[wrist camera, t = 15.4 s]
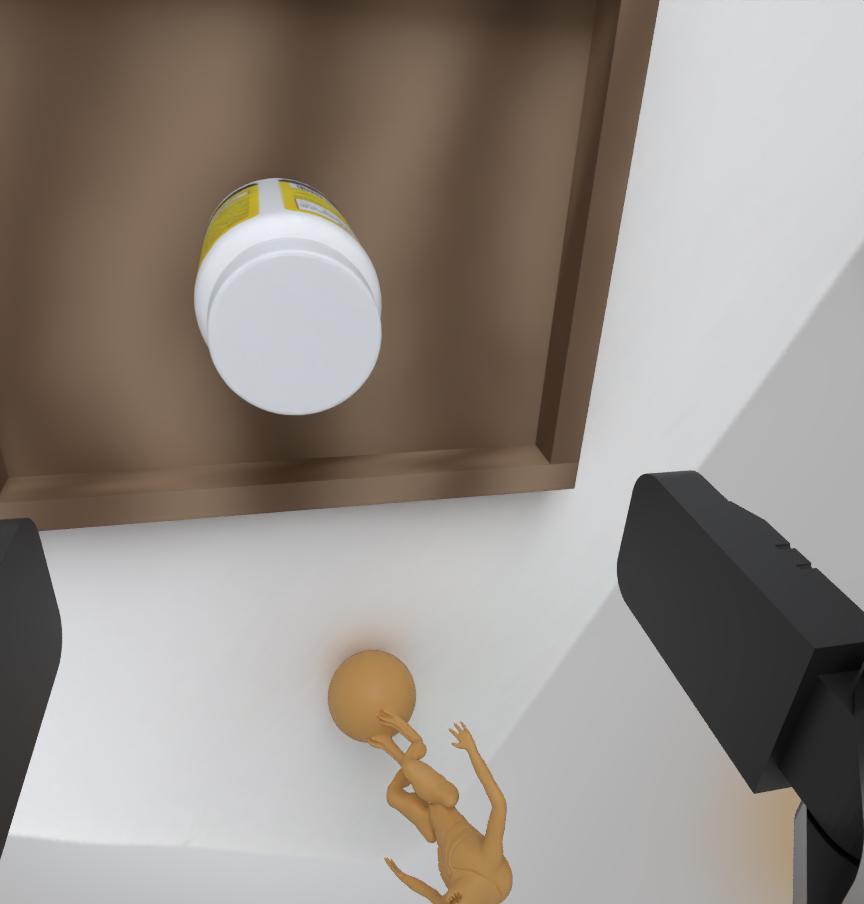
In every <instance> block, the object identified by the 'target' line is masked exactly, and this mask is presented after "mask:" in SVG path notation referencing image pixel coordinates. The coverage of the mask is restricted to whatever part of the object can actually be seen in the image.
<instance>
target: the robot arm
mask: <svg viewBox="0 0 864 904" xmlns="http://www.w3.org/2000/svg"><path fill="white" fill-rule="evenodd" d="M617 577H618V584H619V588H620V591H621V594H622V596H623V598H624V601H625V602H626V604H627V606H628V607H629V609H630V610H631V612H632V613H633V614H634V616H635V618H636V619H637V620H638V622H639V623H640V625H641V626H642V628H643V629H644V631H645V632H646V634H647V635H648V637H649V638H650V640H651V641H652V643H653V644H654V646H655V647H656V649H657V650H658V652H659V653H660V655H661V656H662V658H663V659H664V661H665V662H666V664H667V665H668V667H669V668H670V670H671V671H672V672H673V674H674V675H675V677H676V679H677V680H678V682H679V683H680V685H681V686H682V687H683V689H684V690H685V692H686V693H687V695H688V696H689V698H690V699H691V701H692V702H693V704H694V705H695V707H696V708H697V710H698V711H699V713H700V714H701V716H702V717H703V718H704V720H705V722H706V723H707V725H708V726H709V728H710V729H711V731H712V732H713V734H714V735H715V737H716V738H717V739H718V741H719V743H720V744H721V746H722V747H723V749H724V750H725V751H726V753H727V754H728V756H729V757H730V759H731V760H732V762H733V763H734V765H735V766H736V768H737V769H738V771H739V772H740V774H741V775H742V777H743V778H744V779H745V781H746V783H747V784H748V786H749V787H750V789H751V790H752V792H753V793H754V794H755V793H761V792H766V791H772V790H777V789H783V788H788V787H793V789H794V790H795V792H796V793H797V794H798V796H799V797H800V798H801V802H800V805H799V807H798V809H797V811H796V814H795V818H794V855H793V856H794V857H793V904H864V612H863V611H862V610H861V609H860V608H859V607H858V606H857V605H856V604H855V603H854V602H852V600H850V599H849V598H848V597H847V596H846V595H845V594H844V593H843V592H842V591H841V590H840V589H839V588H838V587H836V586H835V585H834V584H833V583H832V582H831V581H830V580H829V579H828V578H827V577H826V576H825V575H824V574H822V573H821V572H820V571H819V570H818V569H817V568H813V569H812V567H811V562H809V561H808V560H807V559H806V558H805V557H804V556H803V555H802V554H801V553H800V552H799V551H797V550H796V549H795V548H793V549H791V548H790V543H789V542H788V541H787V540H786V539H785V538H784V537H782V536H781V535H780V534H779V533H778V532H777V531H776V530H775V529H774V528H773V527H772V526H771V525H770V524H768V523H767V522H766V521H765V520H763V519H762V518H760V517H758V516H756V515H755V514H753V513H751V512H749V511H747V510H745V509H744V508H742V507H740V506H738V505H737V504H735V503H733V502H731V501H728V500H727V499H726V498H724V496H723V495H721V494H720V493H719V492H718V491H717V490H716V489H715V488H714V487H713V486H712V485H711V484H710V483H709V482H708V481H707V480H706V479H705V478H704V477H703V476H702V475H700V474H699V473H698V472H696V471H677V472H663V473H650V474H643V475H641V476H640V477H639V478H638V479H637V481H636V483H635V485H634V488H633V492H632V497H631V501H630V506H629V510H628V515H627V519H626V524H625V528H624V533H623V537H622V542H621V546H620V551H619V555H618V561H617ZM61 650H62V626H61V618H60V613H59V609H58V605H57V601H56V597H55V593H54V590H53V586H52V582H51V578H50V574H49V570H48V567H47V563H46V559H45V555H44V551H43V547H42V543H41V540H40V536H39V532H38V529H37V527H36V525H35V523H34V522H33V521H32V519H30V518H15V519H1V520H0V858H1V855H2V852H3V849H4V845H5V842H6V839H7V835H8V832H9V829H10V825H11V822H12V819H13V816H14V812H15V809H16V806H17V802H18V799H19V796H20V792H21V789H22V786H23V783H24V779H25V776H26V773H27V769H28V766H29V763H30V759H31V756H32V753H33V750H34V746H35V743H36V740H37V736H38V733H39V730H40V726H41V723H42V720H43V717H44V713H45V710H46V707H47V703H48V700H49V697H50V693H51V690H52V687H53V684H54V680H55V677H56V674H57V670H58V667H59V663H60V658H61Z"/></svg>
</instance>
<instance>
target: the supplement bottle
mask: <svg viewBox="0 0 864 904" xmlns="http://www.w3.org/2000/svg"><path fill="white" fill-rule="evenodd" d="M194 308H195V314H196V318H197V323H198V326H199V329H200V332H201V334H202V337H203V339H204V341H205V343H206V344H207V346H208V348H209V352H210V355H211V358H212V361H213V363H214V365H215V367H216V369H217V371H218V373H219V374H220V376H221V377H222V379H223V380H224V381H225V383H226V384H227V385H228V386H229V387H230V388H231V389H232V390H233V391H234V392H235V393H236V394H237V395H238V396H240V397H241V398H243V399H244V400H245V401H247V402H248V403H250V404H252V405H254V406H256V407H258V408H261V409H263V410H266V411H269V412H273V413H277V414H283V415H306V414H313V413H318V412H321V411H324V410H327V409H330V408H332V407H334V406H336V405H338V404H340V403H342V402H343V401H345V400H347V399H348V398H349V397H351V396H352V395H353V394H354V393H355V392H356V391H357V390H358V389H359V388H360V387H361V386H362V385H363V384H364V382H365V381H366V380H367V379H368V377H369V375H370V374H371V372H372V370H373V368H374V366H375V364H376V361H377V358H378V355H379V351H380V346H381V338H382V331H381V320H380V318H381V310H382V305H381V291H380V285H379V281H378V277H377V274H376V271H375V268H374V266H373V264H372V262H371V260H370V258H369V257H368V255H367V253H366V252H365V250H364V249H363V247H362V246H361V244H360V242H359V241H358V239H357V237H356V236H355V234H354V233H353V231H352V230H351V228H350V227H349V225H348V223H347V222H346V220H345V219H344V217H343V216H342V214H341V213H340V211H339V210H338V209H337V208H336V206H335V205H334V204H333V203H332V202H331V201H330V200H329V199H328V198H327V197H326V196H324V195H323V194H322V193H320V192H319V191H317V190H316V189H314V188H312V187H310V186H309V185H306V184H304V183H301V182H298V181H294V180H290V179H283V178H269V179H263V180H258V181H254V182H251V183H249V184H246V185H244V186H242V187H240V188H238V189H237V190H235V191H233V192H232V193H231V194H229V195H228V196H227V197H226V198H225V199H224V200H223V201H222V202H221V203H220V204H219V206H218V207H217V208H216V210H215V211H214V213H213V215H212V217H211V219H210V221H209V224H208V227H207V230H206V233H205V238H204V242H203V247H202V252H201V257H200V262H199V267H198V272H197V277H196V282H195V289H194Z"/></svg>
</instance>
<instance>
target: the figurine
mask: <svg viewBox="0 0 864 904" xmlns="http://www.w3.org/2000/svg"><path fill="white" fill-rule="evenodd" d="M415 701H416V690H415V684H414V681H413V678H412V675H411V673H410V672H409V670H408V668H407V667H406V666H405V665H404V664H403V663H402V662H401V661H400V660H399V659H398V658H396V657H395V656H393V655H391V654H389V653H386V652H383V651H377V650H370V651H363V652H360V653H357V654H355V655H353V656H351V657H349V658H348V659H347V660H345V661H344V662H343V663H342V664H341V665H340V666H339V668H338V669H337V670H336V672H335V673H334V675H333V677H332V680H331V682H330V686H329V691H328V704H329V710H330V713H331V716H332V718H333V720H334V722H335V723H336V725H337V726H338V727H339V729H340V730H341V731H342V732H343V733H345V734H346V735H347V736H349V737H351V738H353V739H355V740H357V741H361V742H366V743H369V744H370V745H371V746H373V747H376V748H381V749H383V750H385V751H386V752H387V753H388V754H389V755H391V756H392V757H393V758H394V759H395V760H396V761H397V762H398V763H399V764H400V766H401V767H402V768H401V769H400V770H399V771H398V772H397V774H396V775H395V777H394V779H393V781H392V782H391V783H390V785H389V786H388V789H387V802H388V804H389V805H390V806H391V807H393V808H395V809H397V810H398V811H399V812H400V813H402V814H403V815H404V816H405V817H406V818H407V819H408V820H409V821H411V822H412V823H413V824H414V825H415V826H416V827H417V829H418V830H419V831H420V833H421V834H422V835H423V836H424V837H425V839H426V840H427V841H428V842H430V843H434V842H435V841H437V844H438V846H439V847H438V862H439V863H438V866H439V871H440V872H441V873H440V875H441V877H442V879H443V881H444V883H445V884H446V886H447V888H448V891H447V892H446V894H445V895H443V896H442V895H440V894H439V893H438V892H437V891H436V890H435V889H433V888H432V887H430V886H428V885H427V884H426V883H424V882H422V881H421V880H418V879H417V878H415V877H412V876H409V875H406V874H404V873H403V872H402V871H401V870H400V869H399V868H397V866H396V865H395V863H394V862H393V860H392V859H391V861H390V860H389V859H388V858H384V860H385V861H386V863H387V864H388V866H389V867H390V868H391V870H392V871H393V872H394V873H395V874H396V876H397V877H398V878H399V879H400V880H401V881H402V882H403V883H405V884H406V885H407V886H408V887H409V888H410V889H412V890H413V891H415V892H417V893H419V894H420V895H422V896H425V897H426V898H428V899H429V900H430V901H431V902H432V903H433V904H500V903H501V902H503V900H505V899H506V897H507V896H508V895H509V893H510V891H511V888H512V872H511V868H510V866H509V863H508V862H507V860H506V858H505V857H504V855H503V846H502V840H503V834H504V829H505V820H506V808H507V807H506V800H505V798H504V796H503V794H502V792H501V790H500V789H499V787H498V786H497V784H496V782H495V781H494V779H493V777H492V775H491V773H490V771H489V769H488V767H487V765H486V764H485V762H484V760H483V759H482V757H481V756H480V754H479V752H478V750H477V748H476V745H475V742H474V740H473V738H472V736H471V734H470V732H469V731H468V729H467V728H466V726H465V725H464V724H463V723H462V722H460V723H461V725H462V727H463V729H464V731H463V730H462V729H461V728H460V727H459V726H458V725H457V724H455V723H454V726H455V727H456V728H457V730H458V731H459V733H460V734H457V733H456V732H454V731H453V730H452V729H449V731H450V732H451V733H452V734H453V735H454V736H455V737H456V738H457V739H458V740H459V743H458V744H456V743H452V745H454V746H455V747H457V748H460V749H465V750H467V752H468V754H469V756H470V759H471V762H472V765H473V767H474V770H475V772H476V774H477V776H478V778H479V779H480V781H481V783H482V784H483V786H484V788H485V791H486V793H487V795H488V798H489V800H490V802H491V804H492V810H491V813H490V817H489V821H488V825H487V830H486V834H485V836H483V835H482V834H481V833H480V832H479V831H477V830H476V829H475V828H474V827H473V826H472V825H471V824H469V823H468V822H467V820H466V819H465V818H464V817H463V815H461V814H460V813H459V812H458V811H457V809H456V808H455V805H456V803H457V802H458V799H459V792H458V790H457V788H456V787H455V786H454V785H453V784H452V783H450V782H449V781H447V780H446V779H445V778H444V777H443V776H442V775H440V774H439V773H437V772H436V771H435V770H434V769H433V768H432V767H430V766H429V765H427V764H425V763H423V762H421V761H419V759H421V758H423V757H424V756H425V754H426V751H427V750H426V746H425V744H424V743H423V741H422V738H421V737H420V736H419V734H418V733H417V732H416V731H415V730H414V729H413V728H412V727H411V726H410V725H409V724H407V723H408V721H409V719H410V717H411V715H412V713H413V710H414V707H415ZM399 732H400V733H401V734H402V735H403V736H404V737H405V738H407V739H408V740H409V741H410V742H411V743H412V744H411V745H410V747H409V748H408V750H407V752H406V753H405V754H404V753H403V752H402V751H401V750H400V749H399V747H398V746H397V745H396V744H395V743H394V742H393V740H392V737H393V736H394V735H396V734H397V733H399ZM410 784H412V786H413V789H414V791H415V793H408V792H406V791H405V790H403V789H402V788H404V787H407V786H409V785H410ZM428 802H430V803H428Z"/></svg>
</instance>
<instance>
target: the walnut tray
mask: <svg viewBox="0 0 864 904" xmlns="http://www.w3.org/2000/svg"><path fill="white" fill-rule="evenodd" d="M658 6H659V0H0V520H1V519H15V518H30V519H32V521H33V522H34V523H35V525H36V527H37V529H38V531H45V530H58V529H70V528H83V527H95V526H108V525H121V524H133V523H146V522H158V521H171V520H183V519H196V518H209V517H221V516H234V515H246V514H259V513H271V512H284V511H296V510H309V509H322V508H334V507H347V506H359V505H372V504H384V503H397V502H409V501H422V500H435V499H447V498H460V497H472V496H485V495H497V494H510V493H522V492H535V491H548V490H560V489H573V488H574V487H575V481H576V475H577V470H578V464H579V458H580V452H581V447H582V441H583V435H584V430H585V424H586V418H587V412H588V407H589V401H590V395H591V389H592V384H593V378H594V372H595V367H596V361H597V355H598V349H599V344H600V338H601V332H602V326H603V321H604V315H605V309H606V304H607V298H608V292H609V286H610V281H611V275H612V269H613V263H614V258H615V252H616V246H617V240H618V235H619V229H620V223H621V218H622V212H623V206H624V200H625V195H626V189H627V183H628V177H629V172H630V166H631V160H632V155H633V149H634V143H635V137H636V132H637V126H638V120H639V114H640V109H641V103H642V97H643V92H644V86H645V80H646V74H647V69H648V63H649V57H650V51H651V46H652V40H653V34H654V28H655V23H656V17H657V11H658ZM269 178H283V179H290V180H294V181H298V182H301V183H304V184H306V185H309V186H310V187H312V188H314V189H316V190H317V191H319V192H320V193H322V194H323V195H324V196H326V197H327V198H328V199H329V200H330V201H331V202H332V203H333V204H334V205H335V206H336V208H337V209H338V210H339V211H340V213H341V214H342V216H343V217H344V219H345V220H346V222H347V223H348V225H349V227H350V228H351V230H352V231H353V233H354V234H355V236H356V237H357V239H358V241H359V242H360V244H361V246H362V247H363V249H364V250H365V252H366V253H367V255H368V257H369V258H370V260H371V262H372V264H373V266H374V268H375V271H376V274H377V277H378V281H379V285H380V291H381V305H382V310H381V318H380V320H381V331H382V338H381V346H380V351H379V355H378V358H377V361H376V364H375V366H374V368H373V370H372V372H371V374H370V375H369V377H368V379H367V380H366V381H365V382H364V384H363V385H362V386H361V387H360V388H359V389H358V390H357V391H356V392H355V393H354V394H353V395H352V396H351V397H349V398H348V399H347V400H345V401H343V402H342V403H340V404H338V405H336V406H334V407H332V408H330V409H327V410H324V411H321V412H318V413H313V414H306V415H283V414H277V413H273V412H269V411H266V410H263V409H261V408H258V407H256V406H254V405H252V404H250V403H248V402H247V401H245V400H244V399H243V398H241V397H240V396H238V395H237V394H236V393H235V392H234V391H233V390H232V389H231V388H230V387H229V386H228V385H227V384H226V383H225V381H224V380H223V379H222V377H221V376H220V374H219V373H218V371H217V369H216V367H215V365H214V363H213V361H212V358H211V355H210V352H209V348H208V346H207V344H206V343H205V341H204V339H203V337H202V334H201V332H200V329H199V326H198V323H197V318H196V314H195V308H194V289H195V282H196V277H197V272H198V267H199V262H200V257H201V252H202V247H203V242H204V238H205V233H206V230H207V227H208V224H209V221H210V219H211V217H212V215H213V213H214V211H215V210H216V208H217V207H218V206H219V204H220V203H221V202H222V201H223V200H224V199H225V198H226V197H227V196H228V195H229V194H231V193H232V192H233V191H235V190H237V189H238V188H240V187H242V186H244V185H246V184H249V183H251V182H254V181H258V180H263V179H269Z"/></svg>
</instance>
